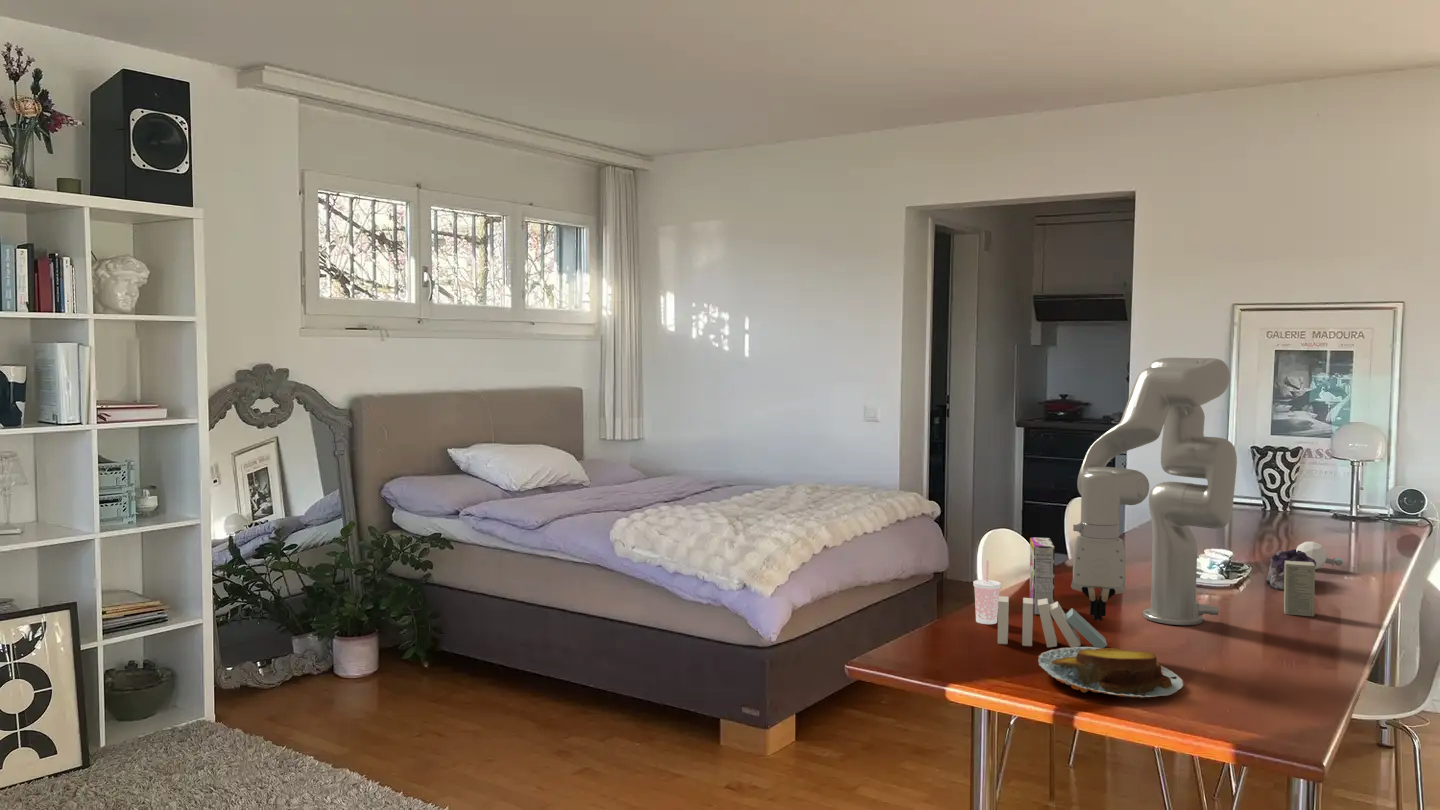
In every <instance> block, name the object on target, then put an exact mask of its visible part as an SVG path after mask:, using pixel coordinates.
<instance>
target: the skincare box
mask: <svg viewBox="0 0 1440 810" xmlns="http://www.w3.org/2000/svg"><path fill="white" fill-rule="evenodd" d="M1315 579H1316V570H1315V564H1314V563H1313V562H1302V561H1286V560H1285V573H1284V591H1283V594H1284V595H1283V612H1284V614H1285V615H1293V616H1301V617H1302V616H1303V617H1315V596H1316V595H1315V588H1316V587H1315V585H1316V584H1315V583H1316V580H1315Z"/></svg>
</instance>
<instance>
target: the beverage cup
mask: <svg viewBox="0 0 1440 810" xmlns="http://www.w3.org/2000/svg"><path fill="white" fill-rule="evenodd" d="M989 566H990V565H989V560H986V565H985V568H986V569H985V573H986V575H985V579H976V580H973V581H972V582H973V587H974V602H975V603H974V604H975V605H974V606H975V622H976V623H978V624H982V625H995V624H998V600H999V596H1000V588H1002V583H1001V581H997V580H994V579H989Z"/></svg>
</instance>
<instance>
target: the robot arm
mask: <svg viewBox="0 0 1440 810" xmlns="http://www.w3.org/2000/svg"><path fill="white" fill-rule="evenodd" d="M1230 380H1231V372H1230V369H1229V367H1228V364H1226V362H1225V361H1224V360H1222V359H1219V358H1213V357H1211V358H1209V357H1208V358H1206V357H1164V358H1158V359H1155V360H1154V361H1152V362H1151V363H1150V364H1149V367H1147V368H1145V369H1143V370H1141V372H1139V373H1138V375H1137V377H1136V379H1135V382H1134V384H1133V387H1132V389H1131V392H1130V395H1129V397H1128V400H1127V403H1126V406H1125V408H1124V410H1123V413H1122V415H1121V416H1122V417H1121V419H1120V421H1119V422H1118V423H1117V424H1116V425H1115V426H1113V427H1110V429H1109V430H1108V431H1106V432H1104V433H1103V434H1102V435H1101V436H1099V437H1098V439H1096V440H1095V441H1094V442H1093V443H1092V445H1090V446H1089V448H1088V449H1087V452H1086V453H1085V456H1084V458H1083V461H1082V463H1081V467H1080V470H1079V473H1078V476H1077V485H1076V486H1077V491H1078V493H1079V495H1080V496H1081V498H1080V502H1081V503H1080V522H1079V523H1077V524H1073V525H1072V526H1073V529H1072V531H1073V532H1077V533H1079V535H1078V536H1076V540H1075V543H1074V544H1075V545H1074V552H1073V561H1072V580H1071V584H1070V587H1071V589H1072V590H1075V591H1077V592H1082V593H1083V594H1084V595H1085V596H1086V597H1087V598H1088V599H1089V615H1090V616H1092V617H1093V621H1099V622H1103V617H1106V608H1107V604H1106V603H1107V601H1108V600H1109V599H1110V598H1111V597H1113V596H1114V595H1118V594H1123V593H1126V592H1127V589H1126V551H1125V543H1124V539H1122V538H1120V517H1121V516H1120V514H1121V513H1120V512H1121V510H1120V508H1121V505H1123V506H1136V505H1139V504H1141V503H1143V501H1145V500H1146V499H1147V496H1148V507H1149V513H1150V519H1151V527H1152V528H1151V530H1152V533H1151V534H1152V544H1151V545H1152V547H1151V548H1152V549H1151V583H1150V585H1151V587H1150V590H1151V591H1150V607H1149V608H1145V609H1144V610H1143V611H1142V614H1143V617H1144V618H1145V619H1147V620H1150V621H1152V622H1156V623H1160V624H1165V625H1172V626H1174V625H1175V626H1194V625H1195V626H1196V625H1199V624H1202V623H1203V622H1204V621H1203V619H1204V617H1203V616H1204V615H1211V616H1219V607H1218V606H1215V605H1214V606H1213V605H1211V604H1201V603H1199V602H1198V600H1197V575H1198V574H1197V573H1198V571H1197V569H1198V568H1197V567H1198V542H1197V539H1196V537H1195V535H1194V533H1193V532H1192V530H1191V528H1190V526H1191V527H1199V528H1206V529H1214V530H1215V529H1217V530H1219V529H1223V528H1225V527H1226V526H1227V525H1228V524H1229V522H1230V521H1231V518H1232V514H1233V506H1234V498H1235V497H1234V496H1235V486H1236V476H1237V467H1238V466H1237V464H1238V460H1237V459H1238V457H1237V456H1238V455H1237V452H1236V447H1235V446H1234V445H1233V443H1232V442H1231V441H1230V440H1229V439H1227V438H1223V437H1217V436H1205V434H1204V429H1205V418H1206V417H1205V413H1204V409H1203V407H1202V406H1203V405H1204V404H1208V402H1211V401H1213V400H1215V399H1217V398H1219V397H1220V396H1222V395H1223V394H1224V393H1225V392H1226V390H1227V389H1228V386H1229V384H1230ZM1161 433H1162V438H1161V439H1162V440H1161V450H1160V466H1161V469H1162V470H1163V471H1164V473H1165V474H1168V475H1172V476H1175V477H1176V476H1177V477H1184V478H1195V479H1203V480H1207V484H1198V483H1192V482H1191V483H1190V482H1179V481H1164V482H1159V483H1158V484H1156V485H1154V486H1153V487H1152V489H1151V490H1150V482H1149V479H1148V477H1147V476H1146V475H1145V474H1144V473H1143V472H1141V471H1139V470H1137V469H1136V470H1135V469H1130V468H1120V467H1115V466H1114V467H1112V466H1107V464H1108V463H1109V462H1111V460H1113V459H1114V458H1115V457H1117V456H1118V455H1121V454H1123V453H1126V452H1127V451H1130V450H1133V449H1136V448H1137V449H1138V448H1140V447H1143V446H1145V445H1148V444H1150V443H1153V442H1156V440H1158V439H1159V438H1160V435H1161ZM1148 494H1149V495H1148ZM1095 588H1096V589H1097V588H1099V589H1101V593H1100V595H1099V596H1098V597H1099V598H1097V596H1096V592H1095Z"/></svg>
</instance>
